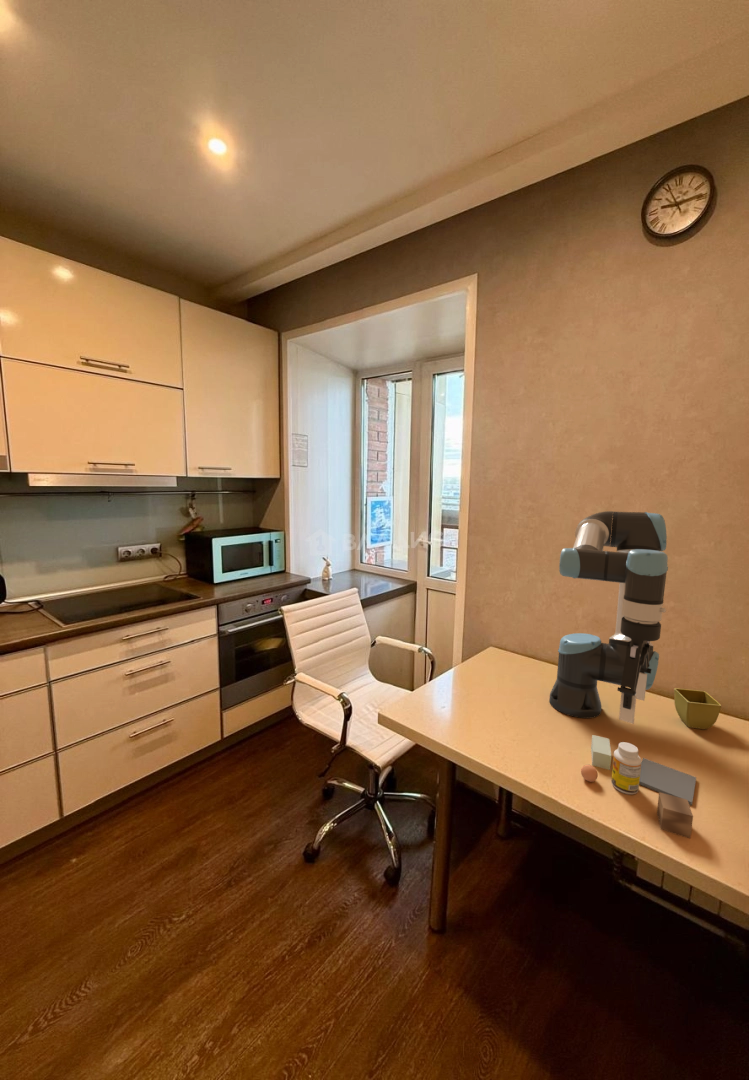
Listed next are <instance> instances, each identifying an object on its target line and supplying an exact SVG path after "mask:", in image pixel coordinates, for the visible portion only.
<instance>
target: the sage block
mask: <svg viewBox="0 0 749 1080" xmlns="http://www.w3.org/2000/svg"><path fill="white" fill-rule="evenodd" d="M610 741H611V740H610V738H607V737H603V736H599V735H594V734H592V735H591V746H590V749H591V751H590V752H591V753H590V754H591V766H593V767H597V768H600V769H601V768H602V769H605V770H609V771H611V763H612V751H611V750H612V749H611V744H610V743H611V742H610Z"/></svg>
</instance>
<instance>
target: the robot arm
mask: <svg viewBox="0 0 749 1080" xmlns="http://www.w3.org/2000/svg"><path fill="white" fill-rule="evenodd" d="M667 535H668V534H667V526H666V522H665V519H664V516H663V515H662V514H660V513H657V512H656V513H654V512H647V511H644V512H642V511H641V512H639V511H638V512H637V511H636V512H635V511H612V510H608V511H599V512H596V513H593V514H591V515H588V516H586V517H585V518H583V519H582V520H581V521H579V523H578V524H577V525H576V527H575V530H574V536H575V541H574V543H573V547H569V548H568V547H567V548H566V547H564V548H562V550H561V551H560V556H559V566H558V568H559V569H558V571H559V574H560V575H561V576H562V577H566V578H567V577H568V578H572V579H582V580H590V581H591V580H592V581H603V582H610V583H619V586H618V596H617V597H618V598H617V606H616V607H617V608H616V609H617V610H616V620H615V621H616V623H615V631H614V634H612V635H611V636H610V637H609V638H608V643H605V642H602V639H601V638H600V637H599V636H598V635H594V634H593V633H592V634H591V633H582V632H581V633H579V632H578V633H576V632H575V633H569V634H566V635H563V636H562V637H561V638H560V640H559V646H558V647H559V648H558V650H557V652H558V660H557V673H556V680H555V683H554V684H553V686H552V689H551V691H550V693H549V702H548V703H549V704H550V706H552V708H554V709H555V710H557V711H559V712H560V713H563V714H565V715H568V716H572V717H574V718H579V719H581V718H582V719H592V718H596V717H598V716H600V715H601V713H602V701H601V697H600V694H599V690H598V682H603V683H609V684H612V685H617V686H618V687H617V691H618V692H620V704H619V715H618V720H620V721H623V722H625V723H629V724H631V725H633V724H634V723H635V716H636V715H635V714H636V703H637V700H639V701H643V702H644V701H645V699H646V691H649V689H651V688H652V687H653V684H654V681H655V679H656V675H657V671H658V667H659V658H660V654H659V652H658V651H656V650H654V644H653V643H652V642H655V641H658V640H659V639H660V638H661V630H662V624H661V622H660V621H662V619H663V613H666V612H667V608H666V607H663V606H664V599H665V598H664V596H665V589H666V588H665V587H666V582H667V572H668V570H669V566H668V565H669V564H668V559H669V557H668V554H667V553H666V552H664V551H666V549H667V545H668V544H667V543H668V542H667V541H668V540H667V539H668V538H667V537H668V536H667ZM604 547H610V548H616V551H608V550H604ZM619 686H620V687H619Z"/></svg>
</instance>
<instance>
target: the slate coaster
mask: <svg viewBox="0 0 749 1080" xmlns="http://www.w3.org/2000/svg"><path fill="white" fill-rule="evenodd" d="M696 782H697V777H696V776H694V775H691V774H688V773H685V772H683V771H680V770H677V769H675V768H672V767H670V766H666V765H664V764H661V763H659V762H655V761H653V760H650V759H648V758H646V757H642V758H641V771H640V781H639V786H642V787H645V788H647V789H649V790H652V791H655V792H658V793H659V792H661V793H664V794H668V795H672V796H675V797H679V798H682V799H686V800H688V803H689V806H690V807H691V806H693V801H694V800H693V799H694V794H695V788H696Z"/></svg>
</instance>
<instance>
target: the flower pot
mask: <svg viewBox="0 0 749 1080" xmlns="http://www.w3.org/2000/svg"><path fill="white" fill-rule="evenodd" d="M673 694H674V700H673V701H674V707H675V710H676V713H677V715H678V717H679V719H680V720H681V721H682V722H683V723H684V724H685V725H686V726H687V727H688V728H693V729H694V728H695V729H700V730H701V729H702V730H708V729H710V728H712V727H713V726H714V724H716V722H717V720H718V719H719V718H718V717H719V715H720V713H721V709H722V705H721V703H720V702H718V700H716V699H715V698H714V697H713V696H711V695H710V694H709V692H707V691H704V690H697V689H687V688H686V689H685V688H678V687H675V688H673Z"/></svg>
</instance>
